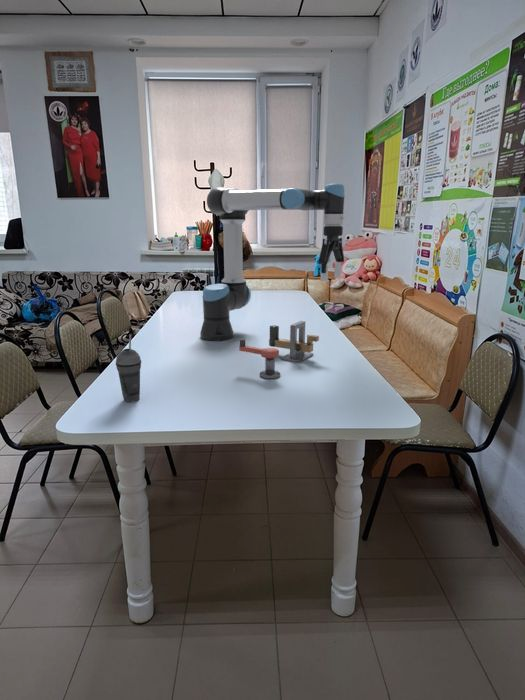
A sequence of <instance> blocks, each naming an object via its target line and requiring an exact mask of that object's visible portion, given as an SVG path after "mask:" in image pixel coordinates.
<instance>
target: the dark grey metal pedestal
mask: <svg viewBox="0 0 525 700" xmlns="http://www.w3.org/2000/svg"><path fill="white" fill-rule="evenodd" d="M275 359H276V358H265V361H264V365H265V367H264V368H265V370H262V371H260V372H259V377H260V378H262V379H264V380H275V379H279V378H280V377H281V372H279V370H278V371H277V370H276V368H275V366H276V360H275Z"/></svg>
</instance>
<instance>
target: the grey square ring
mask: <svg viewBox="0 0 525 700" xmlns="http://www.w3.org/2000/svg"><path fill="white" fill-rule="evenodd" d="M289 330H290V332H289V333H290V334H289V340H290V349H289V353H287V354H285V355H282V356H281V357H280V360H281V361H286V362H292V363H298V364H300V363H302V362H303V361H305V360H307V359H309V358H311V357H312V356H314V352H310V353H309V352H303V351H297V350H296V349H297V341H299V342H305V343H306V321H304V320H299V321H297V322H294V323H292V324H290V327H289ZM297 337H298V339H297Z"/></svg>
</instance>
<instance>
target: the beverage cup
mask: <svg viewBox="0 0 525 700" xmlns="http://www.w3.org/2000/svg"><path fill="white" fill-rule="evenodd" d="M128 340H129V341H128V348H125V349H122V350H121V351H119V352H118V354H117V356H116V358H115V359H116V360H115V365H116V370H117V372H118V377H119V382H120V383H119V384H120V388H121V394H122V397H123V402H125V403H135V402H138V401H140V396H141V368H142V360H141V356H140V354H139V353H138V352H137V351H136V350H135V349H133V348H132V334H129V339H128Z"/></svg>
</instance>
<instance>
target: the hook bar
mask: <svg viewBox="0 0 525 700" xmlns="http://www.w3.org/2000/svg"><path fill="white" fill-rule="evenodd" d="M279 328H280V327H279V325H270V326H269V339H268V346H269V347H270V348H275V347H276V348H281V349H286V350H290V339H285V338H280V337H279V336H280V331H279V330H280V329H279ZM319 341H320V336H319V335H316V334H307V336H306V341H305V342H299V340H297V349H296V350H297V351H303V352H309V353H313V352H314V342H315V343H316V342H319Z"/></svg>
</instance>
